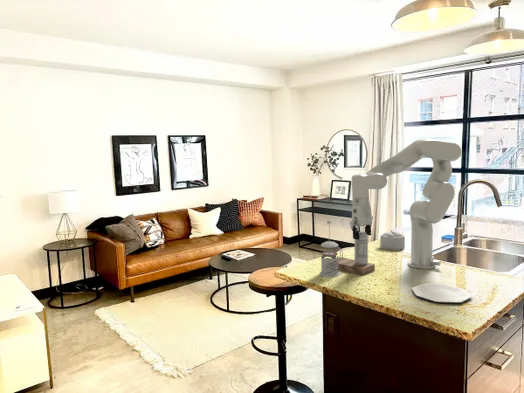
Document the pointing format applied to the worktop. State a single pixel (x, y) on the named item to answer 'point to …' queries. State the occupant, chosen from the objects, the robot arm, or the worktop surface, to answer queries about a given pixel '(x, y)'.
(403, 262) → the worktop surface
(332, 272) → the french press
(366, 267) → the walnut board
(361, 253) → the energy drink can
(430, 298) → the plate
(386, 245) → the lumpy-topped squat cylinder
